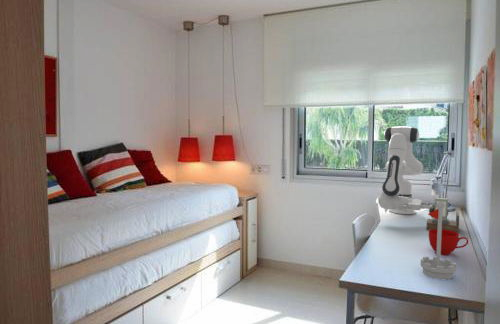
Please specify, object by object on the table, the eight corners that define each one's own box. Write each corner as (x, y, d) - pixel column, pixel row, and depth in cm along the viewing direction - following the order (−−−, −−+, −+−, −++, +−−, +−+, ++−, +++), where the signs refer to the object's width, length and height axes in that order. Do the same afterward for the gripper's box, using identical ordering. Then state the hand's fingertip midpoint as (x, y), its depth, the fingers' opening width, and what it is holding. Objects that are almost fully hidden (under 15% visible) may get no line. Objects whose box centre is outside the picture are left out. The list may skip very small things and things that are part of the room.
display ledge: (427, 224, 239) (427, 209, 238) (457, 227, 231) (458, 211, 230) (426, 229, 226) (427, 213, 226) (458, 232, 219) (459, 216, 218)
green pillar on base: (432, 219, 235) (433, 196, 234) (448, 221, 231) (449, 198, 230) (432, 222, 227) (433, 199, 226) (448, 224, 223) (449, 200, 222)
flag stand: (444, 268, 159) (447, 198, 157) (463, 280, 146) (466, 204, 144) (414, 268, 158) (416, 198, 156) (430, 280, 145) (433, 204, 143)
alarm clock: (445, 221, 250) (446, 197, 248) (449, 222, 244) (450, 198, 243) (428, 220, 251) (429, 196, 250) (431, 222, 245) (432, 198, 244)
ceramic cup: (467, 260, 170) (468, 238, 169) (426, 254, 178) (427, 233, 178) (467, 252, 181) (468, 232, 181) (428, 247, 190) (429, 228, 189)
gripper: (404, 201, 228) (429, 203, 222) (406, 196, 246) (429, 198, 240) (403, 211, 228) (428, 213, 222) (406, 206, 247) (429, 208, 240)
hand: (429, 205), depth 231 cm, fingers open, 8 cm apart
